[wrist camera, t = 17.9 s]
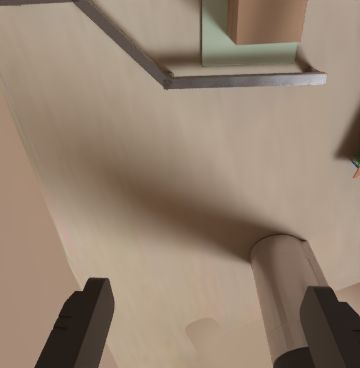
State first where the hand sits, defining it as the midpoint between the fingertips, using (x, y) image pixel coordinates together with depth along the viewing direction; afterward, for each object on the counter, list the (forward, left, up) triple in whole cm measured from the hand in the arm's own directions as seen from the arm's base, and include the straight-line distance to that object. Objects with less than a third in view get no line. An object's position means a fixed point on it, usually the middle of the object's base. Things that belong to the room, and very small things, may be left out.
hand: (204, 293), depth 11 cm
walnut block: (-5, -10, -26) cm, 28 cm away
